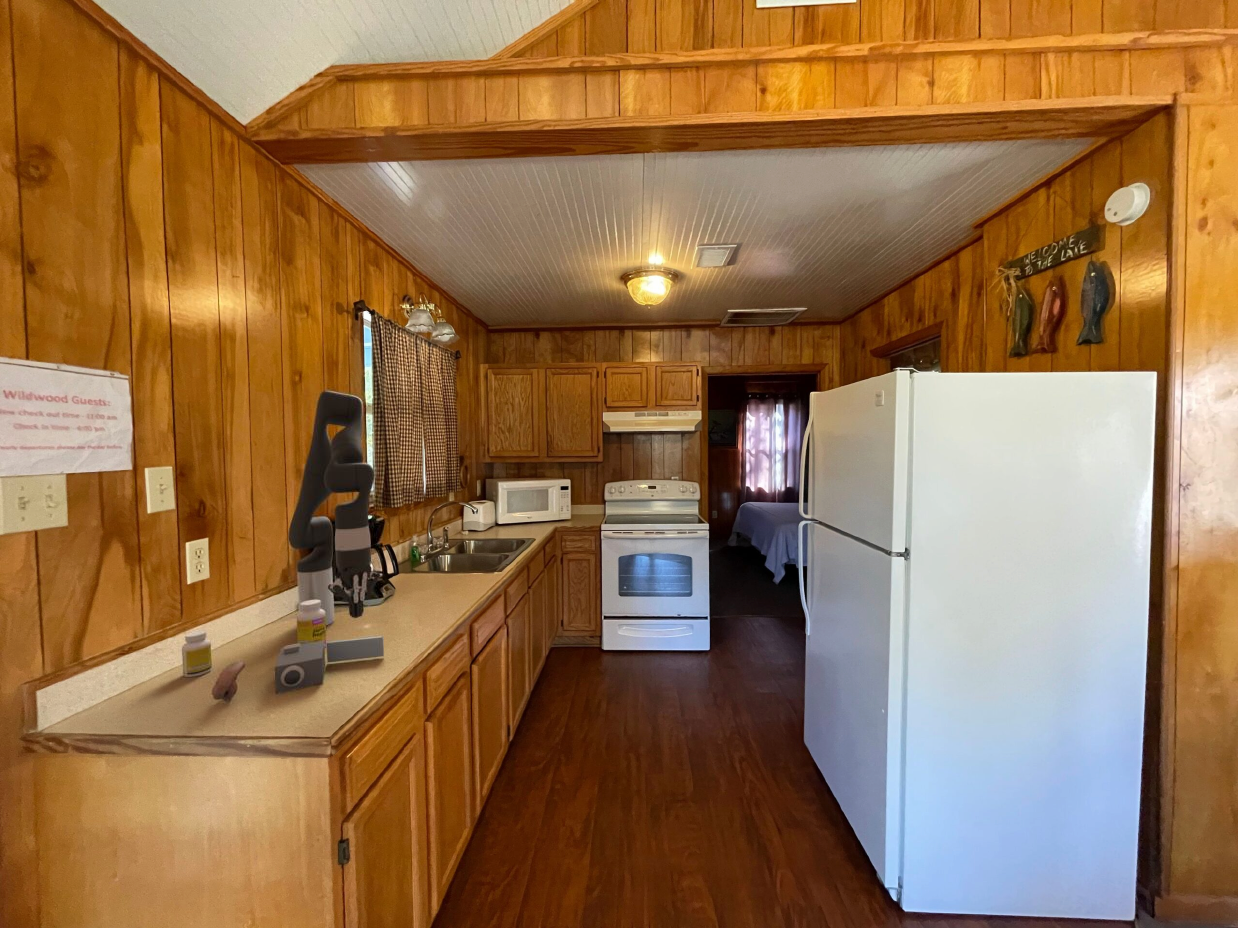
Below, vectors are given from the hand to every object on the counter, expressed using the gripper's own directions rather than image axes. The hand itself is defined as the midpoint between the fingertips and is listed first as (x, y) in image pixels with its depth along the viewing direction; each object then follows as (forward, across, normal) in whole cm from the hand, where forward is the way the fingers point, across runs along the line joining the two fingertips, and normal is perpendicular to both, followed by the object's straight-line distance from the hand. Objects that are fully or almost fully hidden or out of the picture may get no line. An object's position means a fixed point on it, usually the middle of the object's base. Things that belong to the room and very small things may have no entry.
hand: (356, 616), depth 121 cm
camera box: (+13, -7, +10) cm, 18 cm away
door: (+13, +4, +6) cm, 15 cm away
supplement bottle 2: (+14, +5, +24) cm, 28 cm away
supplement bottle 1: (+13, -15, +38) cm, 43 cm away
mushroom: (+14, -21, +14) cm, 29 cm away
